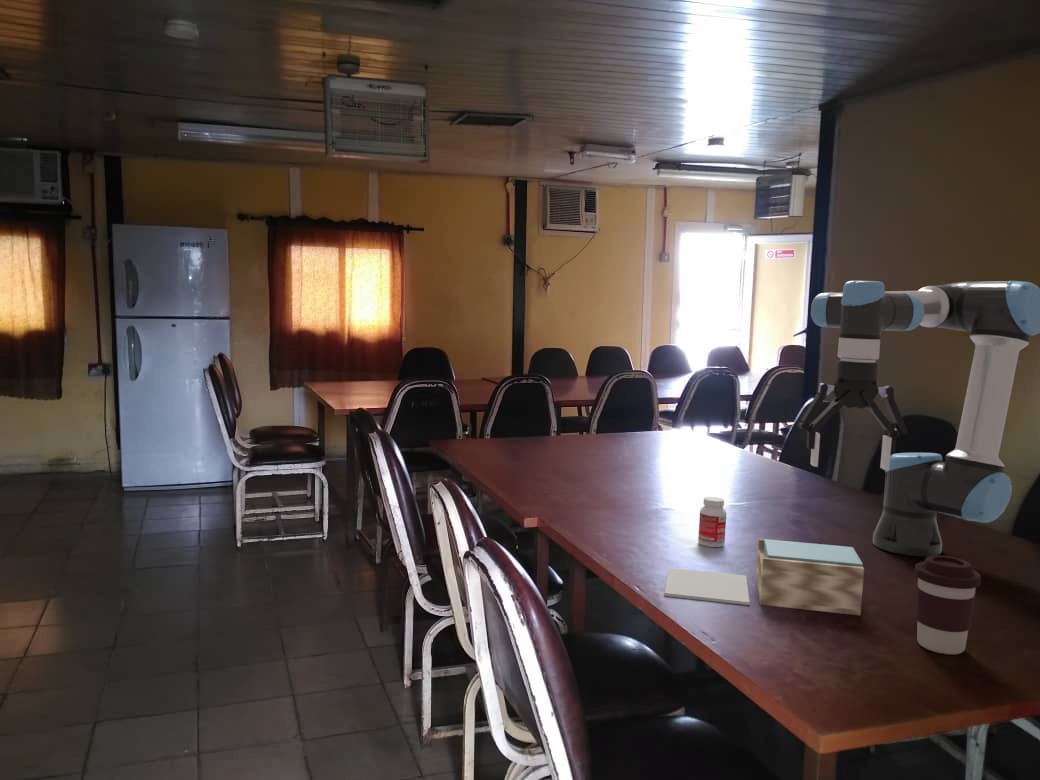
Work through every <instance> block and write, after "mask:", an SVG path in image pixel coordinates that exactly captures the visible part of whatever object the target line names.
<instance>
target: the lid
mask: <svg viewBox="0 0 1040 780" xmlns="http://www.w3.org/2000/svg"><path fill="white" fill-rule="evenodd" d="M763 539H764V554H765V558H775V559H786V560H796V561H807V562H817V563H827V564H838V565H848V566H859V567H863V568H864V564H863V562H862V560H861V559H860V557H859V555H858V554H857V552H856V550H855V547H852V546H845V545H844V546H843V545H834V544H833V545H832V544H823V543H821V544H819V543H810V542H800V541H789V540H778V539H769V538H768V539H767V538H763Z"/></svg>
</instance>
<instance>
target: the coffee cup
mask: <svg viewBox="0 0 1040 780" xmlns="http://www.w3.org/2000/svg"><path fill="white" fill-rule="evenodd" d="M914 576H915V577H916V578H917V584H916V594H915V595H916V598H915V599H916V601H915V602H916V605H915V607H916V608H915V609H916V610H915V618H916V620H917V626H916V627H917V631H916V632H917V633H916V635H917V636H916V640H917V643H918V644H919V645H920V646H921V647H923V648H924V649H926V650H929V651H932V652H933V653H938V654H943V655H960V654H962V653H964V651H965V650H966V646H967V639H968V635H969V634H968V633H969V630H970V629H971V626H972V619H973V614H974V608H975V602H976V594H975V593H976V589H977V588H979V587H980V585H981V580H982V575H981V574H980V573H979V572H978V571H976V570H974V569H973V566H972V565H971V563H970V562H969V561H966V560H964V559H962V558H958V557H953V556H947V555H940V554H939V555H935V556H926V557H925V560H924V561H920V562H918V563H916V564H915V566H914Z"/></svg>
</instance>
